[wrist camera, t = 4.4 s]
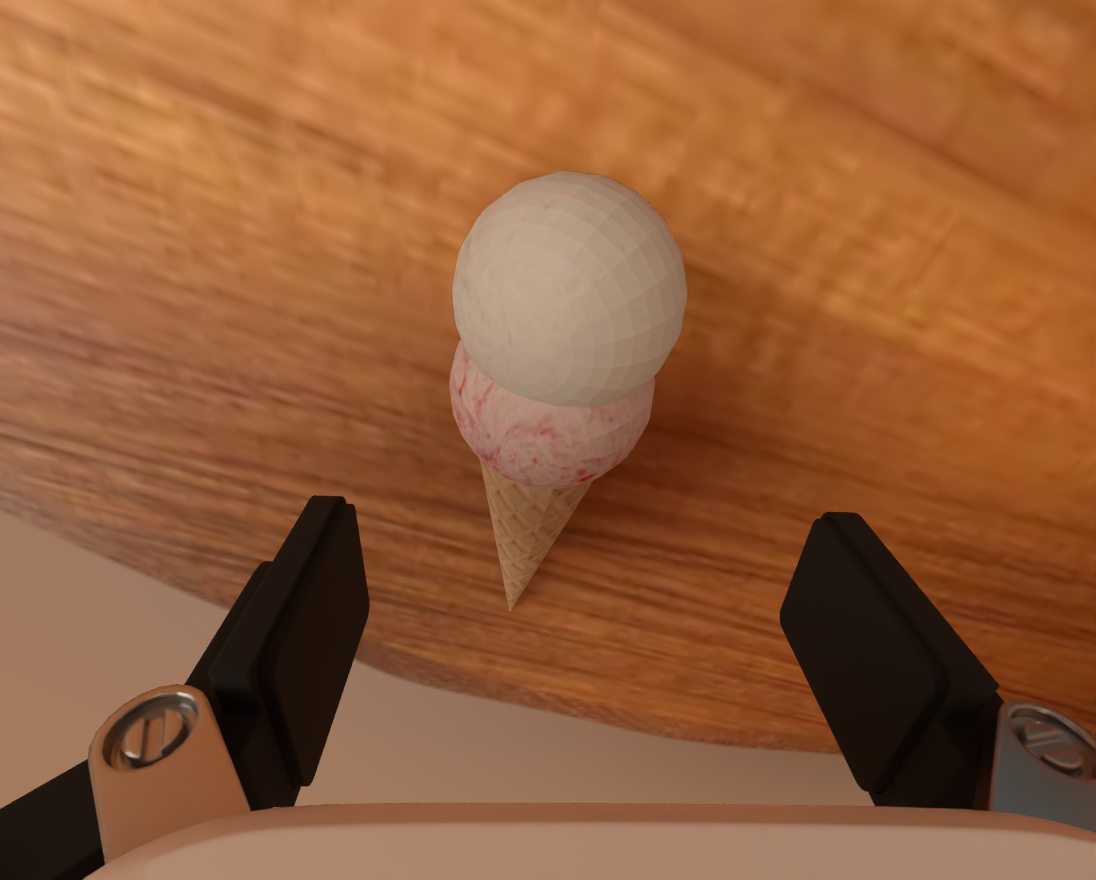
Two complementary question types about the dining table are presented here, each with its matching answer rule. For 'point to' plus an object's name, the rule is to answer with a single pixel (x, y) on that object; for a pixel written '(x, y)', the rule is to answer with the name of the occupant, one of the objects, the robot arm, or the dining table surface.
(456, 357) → the ice cream cone
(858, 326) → the dining table surface
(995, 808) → the robot arm
